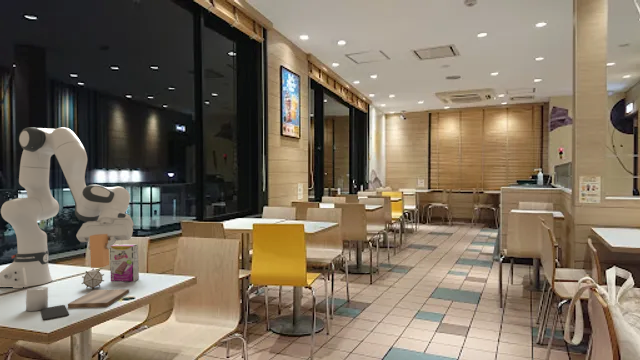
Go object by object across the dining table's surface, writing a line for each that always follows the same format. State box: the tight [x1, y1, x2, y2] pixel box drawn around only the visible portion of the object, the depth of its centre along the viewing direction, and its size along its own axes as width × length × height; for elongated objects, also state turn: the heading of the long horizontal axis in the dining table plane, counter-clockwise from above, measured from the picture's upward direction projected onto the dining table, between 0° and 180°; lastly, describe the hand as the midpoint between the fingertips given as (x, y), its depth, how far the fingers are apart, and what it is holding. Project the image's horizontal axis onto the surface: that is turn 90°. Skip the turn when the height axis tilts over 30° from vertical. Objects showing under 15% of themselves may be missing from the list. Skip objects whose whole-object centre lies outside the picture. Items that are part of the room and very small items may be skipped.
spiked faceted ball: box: [81, 268, 105, 290], centre depth 174 cm, size 9×8×10 cm
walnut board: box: [67, 288, 130, 309], centre depth 156 cm, size 14×18×2 cm
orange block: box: [89, 234, 110, 269], centre depth 156 cm, size 5×5×12 cm
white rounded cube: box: [25, 286, 49, 312], centre depth 147 cm, size 6×6×7 cm
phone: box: [40, 304, 70, 321], centre depth 142 cm, size 7×1×15 cm
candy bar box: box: [109, 243, 140, 283], centre depth 186 cm, size 11×5×16 cm, turn 84°
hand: (98, 248), depth 155 cm, fingers closed on orange block, 5 cm apart
